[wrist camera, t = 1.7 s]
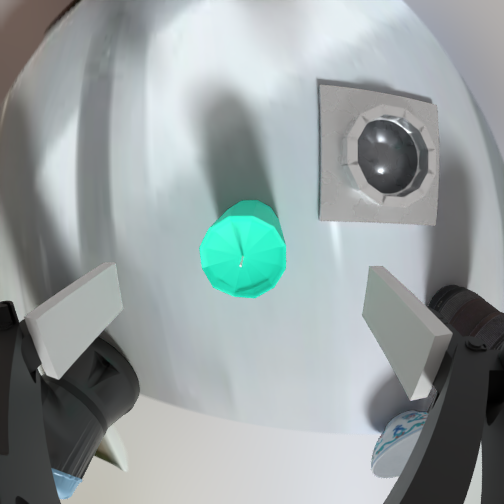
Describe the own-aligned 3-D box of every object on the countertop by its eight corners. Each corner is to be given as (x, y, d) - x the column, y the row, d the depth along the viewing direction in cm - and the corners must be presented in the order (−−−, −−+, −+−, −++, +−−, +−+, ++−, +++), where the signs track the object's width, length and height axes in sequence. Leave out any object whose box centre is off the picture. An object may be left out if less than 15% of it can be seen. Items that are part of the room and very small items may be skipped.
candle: (228, 193, 28) (202, 207, 17) (286, 207, 28) (300, 231, 17) (216, 249, 30) (186, 296, 18) (271, 262, 30) (275, 318, 18)
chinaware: (405, 447, 39) (415, 475, 32) (346, 445, 39) (353, 479, 31) (453, 395, 35) (471, 423, 28) (397, 387, 34) (414, 422, 27)
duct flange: (318, 219, 28) (324, 224, 26) (318, 86, 25) (324, 77, 22) (432, 224, 28) (445, 229, 25) (433, 106, 24) (447, 102, 21)
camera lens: (463, 325, 31) (521, 383, 17) (419, 340, 32) (472, 413, 18) (470, 273, 29) (543, 323, 15) (424, 286, 30) (496, 351, 16)
